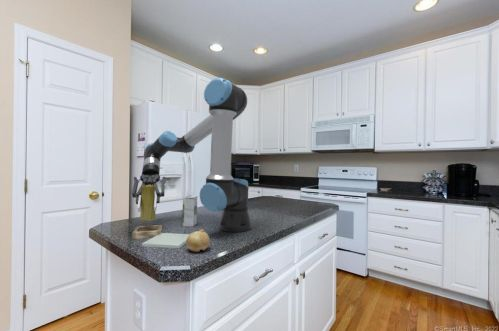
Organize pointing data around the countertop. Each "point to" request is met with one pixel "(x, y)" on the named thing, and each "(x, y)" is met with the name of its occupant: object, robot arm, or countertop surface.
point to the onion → (198, 241)
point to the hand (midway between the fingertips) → (147, 209)
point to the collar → (146, 231)
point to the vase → (147, 203)
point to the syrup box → (189, 211)
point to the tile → (167, 240)
